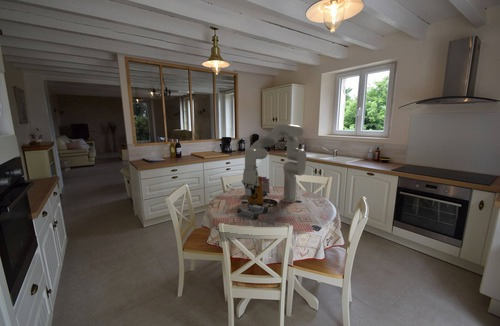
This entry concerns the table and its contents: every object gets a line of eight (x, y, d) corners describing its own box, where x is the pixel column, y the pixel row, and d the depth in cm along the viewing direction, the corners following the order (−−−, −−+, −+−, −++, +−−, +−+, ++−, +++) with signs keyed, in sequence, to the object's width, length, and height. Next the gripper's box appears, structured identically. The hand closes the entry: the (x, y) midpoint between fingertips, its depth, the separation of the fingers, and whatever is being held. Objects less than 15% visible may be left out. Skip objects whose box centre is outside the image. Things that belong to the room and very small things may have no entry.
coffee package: (261, 206, 169) (261, 178, 164) (245, 204, 172) (245, 176, 168) (264, 201, 178) (265, 174, 174) (249, 199, 182) (249, 173, 177)
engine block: (250, 191, 155) (250, 185, 154) (255, 193, 152) (255, 186, 151) (244, 194, 150) (245, 187, 149) (250, 195, 147) (250, 188, 146)
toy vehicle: (245, 194, 195) (245, 177, 192) (266, 192, 201) (266, 176, 198) (248, 197, 187) (248, 180, 184) (269, 195, 192) (270, 178, 189)
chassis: (251, 206, 168) (251, 201, 167) (268, 211, 159) (268, 205, 158) (236, 214, 153) (236, 209, 153) (254, 220, 145) (254, 214, 144)
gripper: (264, 167, 146) (263, 194, 149) (243, 164, 155) (243, 189, 159) (258, 169, 140) (257, 197, 143) (236, 166, 149) (237, 192, 153)
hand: (250, 193), depth 151 cm, fingers closed on engine block, 4 cm apart
